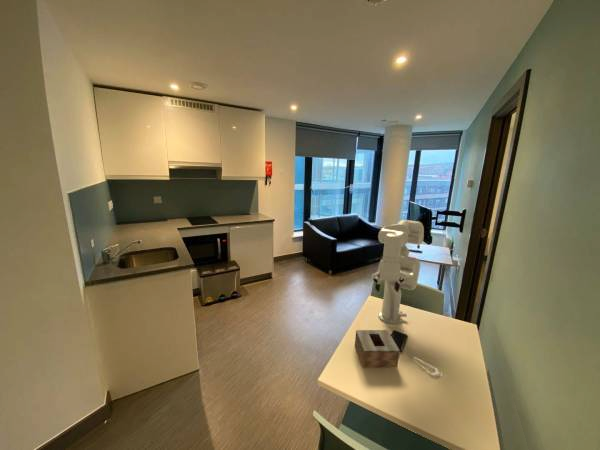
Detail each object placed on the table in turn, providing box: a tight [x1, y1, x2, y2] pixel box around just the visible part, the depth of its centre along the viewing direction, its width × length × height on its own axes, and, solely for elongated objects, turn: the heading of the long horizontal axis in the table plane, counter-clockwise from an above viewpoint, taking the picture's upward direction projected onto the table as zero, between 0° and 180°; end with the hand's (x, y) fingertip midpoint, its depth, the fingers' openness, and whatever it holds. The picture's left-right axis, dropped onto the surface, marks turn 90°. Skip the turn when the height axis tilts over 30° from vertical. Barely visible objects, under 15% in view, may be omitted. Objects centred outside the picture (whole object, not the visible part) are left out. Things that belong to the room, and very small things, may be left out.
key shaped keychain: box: [412, 356, 443, 378], centre depth 110 cm, size 13×5×2 cm, turn 42°
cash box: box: [354, 329, 401, 369], centre depth 115 cm, size 16×14×9 cm
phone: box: [390, 329, 409, 353], centre depth 126 cm, size 8×1×15 cm
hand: (386, 290), depth 121 cm, fingers open, 9 cm apart
